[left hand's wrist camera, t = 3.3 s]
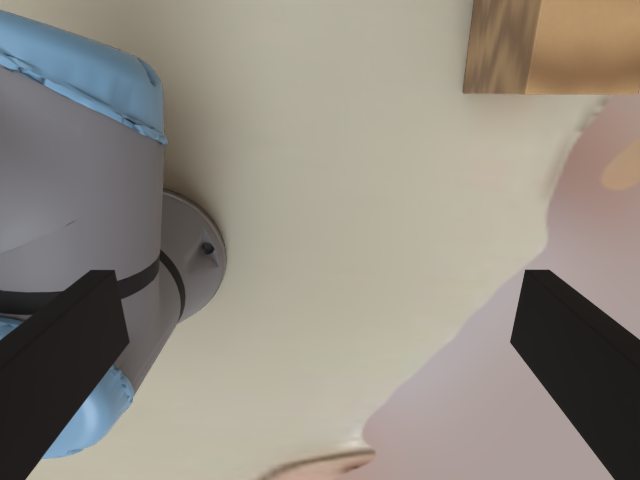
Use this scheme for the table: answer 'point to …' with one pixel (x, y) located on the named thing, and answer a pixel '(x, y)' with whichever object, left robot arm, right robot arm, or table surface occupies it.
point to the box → (554, 47)
